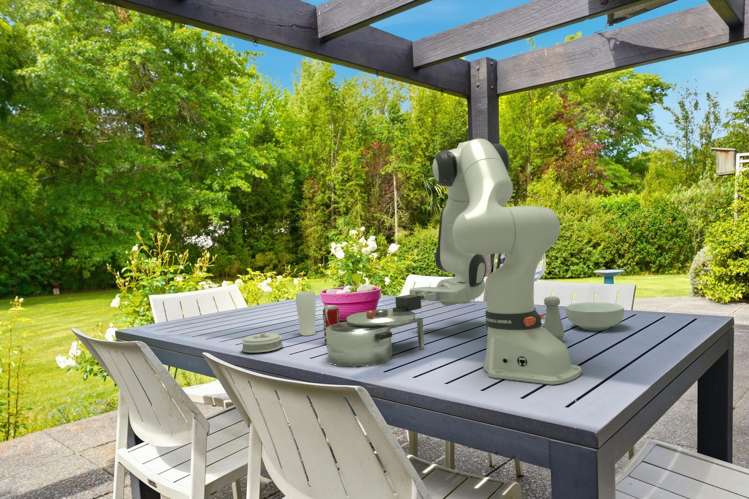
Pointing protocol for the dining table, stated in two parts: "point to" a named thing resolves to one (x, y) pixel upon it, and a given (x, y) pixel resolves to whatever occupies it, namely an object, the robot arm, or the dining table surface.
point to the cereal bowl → (595, 315)
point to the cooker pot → (363, 343)
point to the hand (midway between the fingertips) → (421, 297)
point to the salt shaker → (553, 317)
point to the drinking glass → (306, 312)
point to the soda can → (330, 317)
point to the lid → (262, 342)
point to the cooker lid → (388, 313)
